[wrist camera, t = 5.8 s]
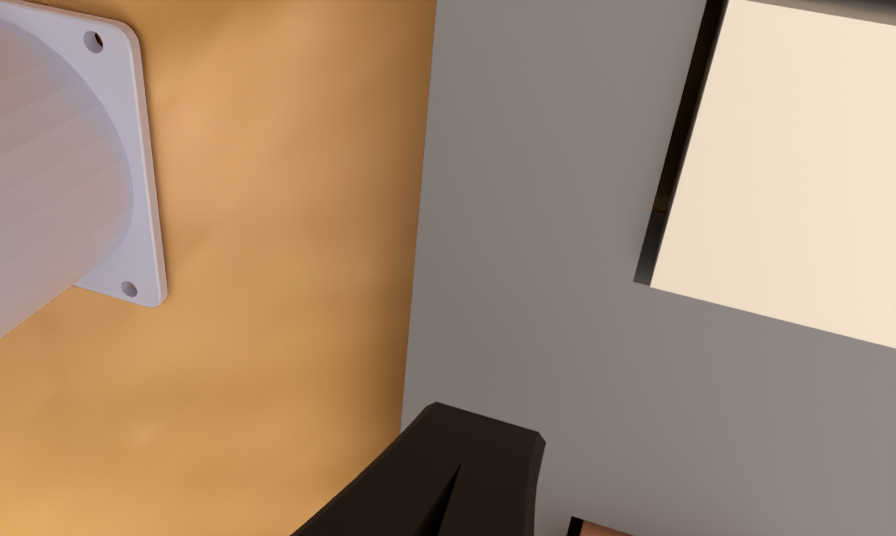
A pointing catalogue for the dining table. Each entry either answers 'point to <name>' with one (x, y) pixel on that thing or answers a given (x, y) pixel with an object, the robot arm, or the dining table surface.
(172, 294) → the dining table surface
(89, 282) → the robot arm
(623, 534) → the terracotta key
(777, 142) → the white key
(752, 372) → the key console
